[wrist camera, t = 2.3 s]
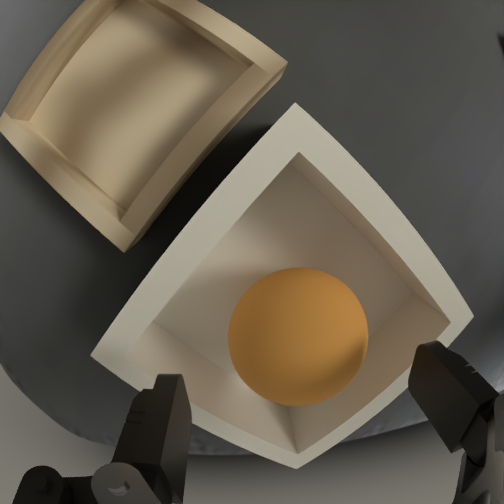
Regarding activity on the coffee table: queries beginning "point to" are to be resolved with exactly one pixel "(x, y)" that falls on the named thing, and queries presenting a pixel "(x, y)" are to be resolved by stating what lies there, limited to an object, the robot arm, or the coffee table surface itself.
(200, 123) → the tray
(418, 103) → the coffee table surface
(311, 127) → the white square bin
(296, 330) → the ball
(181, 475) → the robot arm
